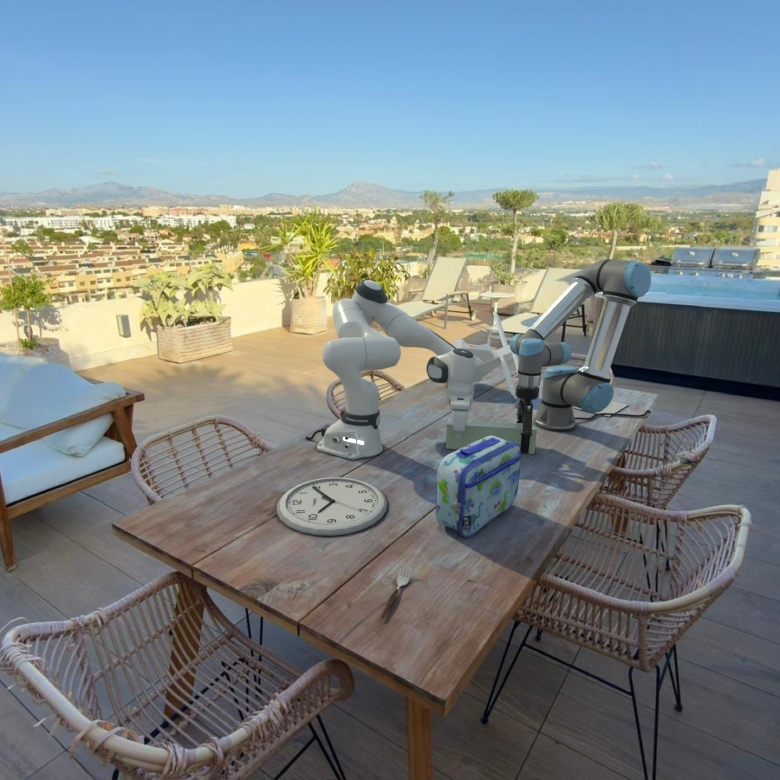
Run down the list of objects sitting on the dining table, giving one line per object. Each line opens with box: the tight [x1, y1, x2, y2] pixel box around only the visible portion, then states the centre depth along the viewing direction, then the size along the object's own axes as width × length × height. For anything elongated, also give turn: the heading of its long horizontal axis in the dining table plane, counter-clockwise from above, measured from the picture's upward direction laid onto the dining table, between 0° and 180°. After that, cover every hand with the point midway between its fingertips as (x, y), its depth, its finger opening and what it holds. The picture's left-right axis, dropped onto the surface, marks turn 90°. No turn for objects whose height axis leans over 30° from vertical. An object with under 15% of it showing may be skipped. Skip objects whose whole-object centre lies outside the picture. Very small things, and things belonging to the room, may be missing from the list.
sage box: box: [445, 418, 538, 455], centre depth 180 cm, size 30×5×9 cm, turn 83°
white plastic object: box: [443, 310, 519, 400], centre depth 245 cm, size 37×45×31 cm
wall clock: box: [276, 476, 388, 537], centre depth 142 cm, size 30×2×30 cm
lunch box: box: [435, 436, 522, 538], centre depth 134 cm, size 26×11×21 cm, turn 134°
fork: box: [381, 564, 413, 619], centre depth 108 cm, size 3×16×2 cm, turn 160°
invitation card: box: [573, 400, 629, 418], centre depth 226 cm, size 21×1×15 cm
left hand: (457, 434), depth 181 cm, fingers closed on sage box, 5 cm apart
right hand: (521, 445), depth 180 cm, fingers open, 12 cm apart
